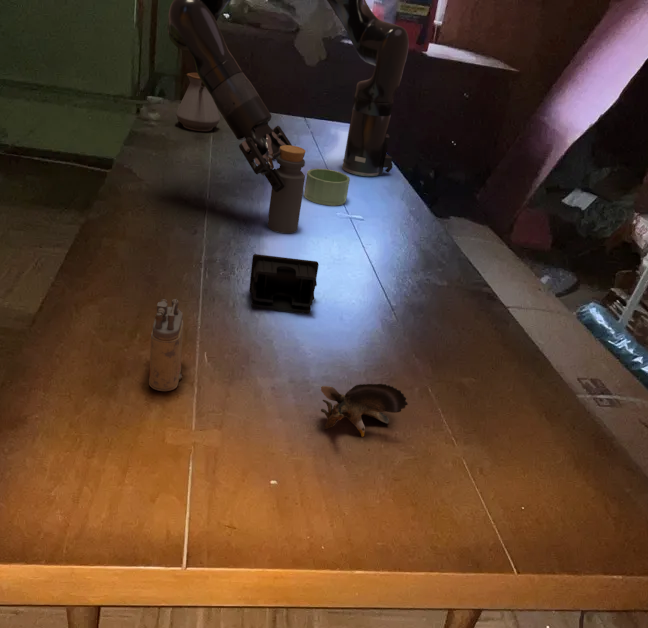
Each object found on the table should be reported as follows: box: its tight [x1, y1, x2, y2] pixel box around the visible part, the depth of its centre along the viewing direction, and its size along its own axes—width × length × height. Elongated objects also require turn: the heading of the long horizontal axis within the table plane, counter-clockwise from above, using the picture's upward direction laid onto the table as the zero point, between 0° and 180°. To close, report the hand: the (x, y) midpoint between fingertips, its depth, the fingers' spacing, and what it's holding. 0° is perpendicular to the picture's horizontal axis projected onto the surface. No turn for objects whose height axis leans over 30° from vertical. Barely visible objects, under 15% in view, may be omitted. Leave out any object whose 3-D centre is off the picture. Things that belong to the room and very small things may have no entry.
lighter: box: [148, 298, 185, 392], centre depth 88 cm, size 7×4×10 cm, turn 2°
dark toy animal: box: [320, 383, 409, 438], centre depth 87 cm, size 8×7×9 cm
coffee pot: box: [175, 72, 221, 132], centre depth 185 cm, size 21×12×15 cm, turn 10°
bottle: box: [267, 145, 306, 234], centre depth 136 cm, size 6×6×15 cm
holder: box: [303, 168, 351, 207], centre depth 158 cm, size 9×9×5 cm
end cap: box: [248, 253, 319, 315], centre depth 112 cm, size 10×7×7 cm
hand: (290, 184), depth 136 cm, fingers open, 8 cm apart
